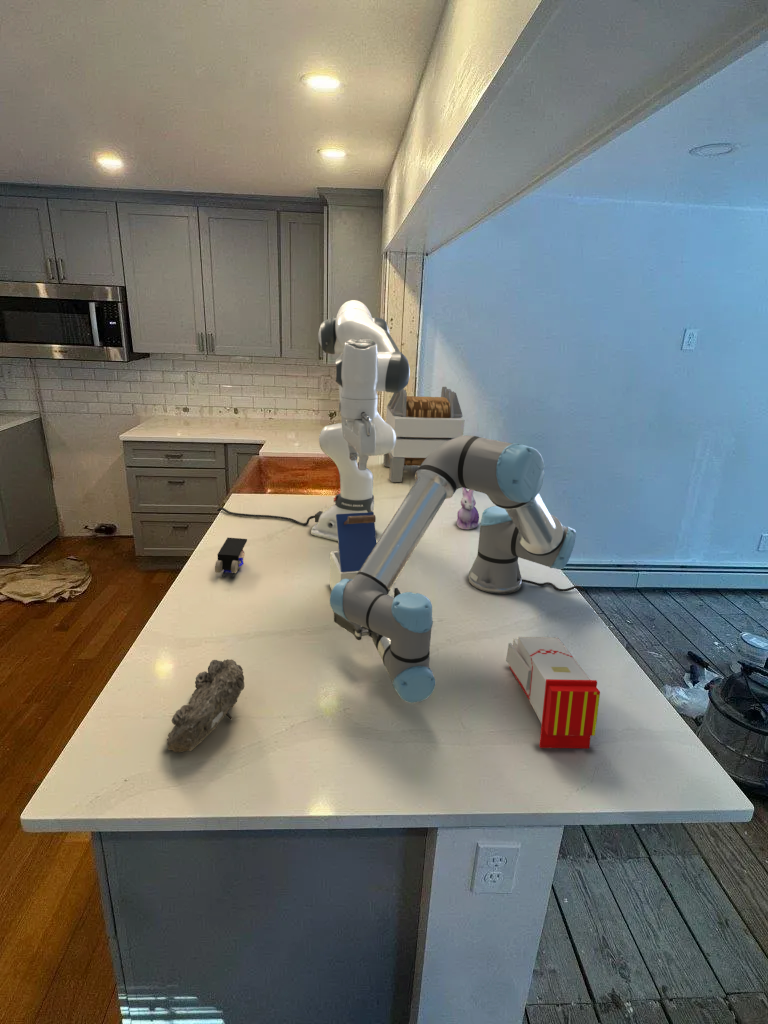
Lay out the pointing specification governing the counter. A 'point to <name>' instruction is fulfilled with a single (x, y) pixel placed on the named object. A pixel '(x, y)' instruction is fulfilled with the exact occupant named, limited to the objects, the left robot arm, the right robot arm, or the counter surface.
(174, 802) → the counter surface
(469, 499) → the figurine
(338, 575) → the chest
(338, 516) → the lid
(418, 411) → the transformer
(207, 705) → the fossil
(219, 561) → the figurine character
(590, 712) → the toy
